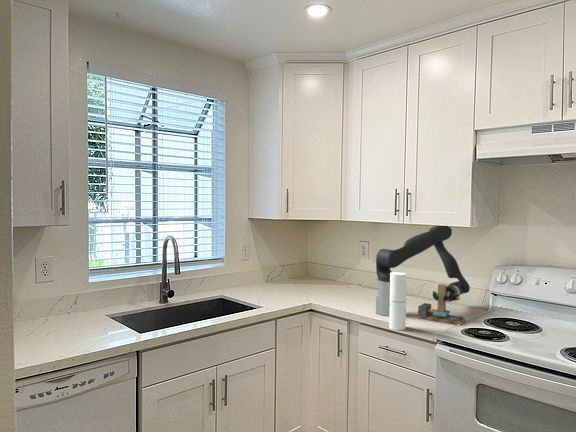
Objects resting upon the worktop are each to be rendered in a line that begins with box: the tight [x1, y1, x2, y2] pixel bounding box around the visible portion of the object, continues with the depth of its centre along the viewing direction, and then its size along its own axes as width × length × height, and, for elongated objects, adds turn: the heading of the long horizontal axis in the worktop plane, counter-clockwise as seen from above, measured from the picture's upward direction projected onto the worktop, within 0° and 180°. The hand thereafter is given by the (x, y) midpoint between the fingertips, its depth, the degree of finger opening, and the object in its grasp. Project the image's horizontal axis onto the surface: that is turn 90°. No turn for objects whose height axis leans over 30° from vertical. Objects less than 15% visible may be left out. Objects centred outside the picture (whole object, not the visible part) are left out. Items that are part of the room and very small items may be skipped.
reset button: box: [427, 308, 436, 314], centre depth 212 cm, size 3×2×2 cm
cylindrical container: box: [388, 271, 407, 331], centre depth 195 cm, size 7×7×25 cm
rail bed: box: [417, 302, 466, 326], centre depth 209 cm, size 20×9×6 cm, turn 53°
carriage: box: [433, 283, 451, 317], centre depth 209 cm, size 6×7×14 cm
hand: (440, 298), depth 206 cm, fingers closed on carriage, 3 cm apart
